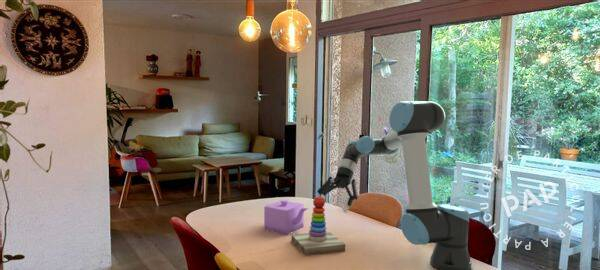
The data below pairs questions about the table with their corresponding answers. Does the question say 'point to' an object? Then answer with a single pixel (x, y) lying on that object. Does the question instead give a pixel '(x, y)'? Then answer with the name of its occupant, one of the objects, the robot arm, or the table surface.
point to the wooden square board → (318, 244)
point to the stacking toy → (318, 221)
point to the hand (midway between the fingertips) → (331, 209)
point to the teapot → (284, 217)
